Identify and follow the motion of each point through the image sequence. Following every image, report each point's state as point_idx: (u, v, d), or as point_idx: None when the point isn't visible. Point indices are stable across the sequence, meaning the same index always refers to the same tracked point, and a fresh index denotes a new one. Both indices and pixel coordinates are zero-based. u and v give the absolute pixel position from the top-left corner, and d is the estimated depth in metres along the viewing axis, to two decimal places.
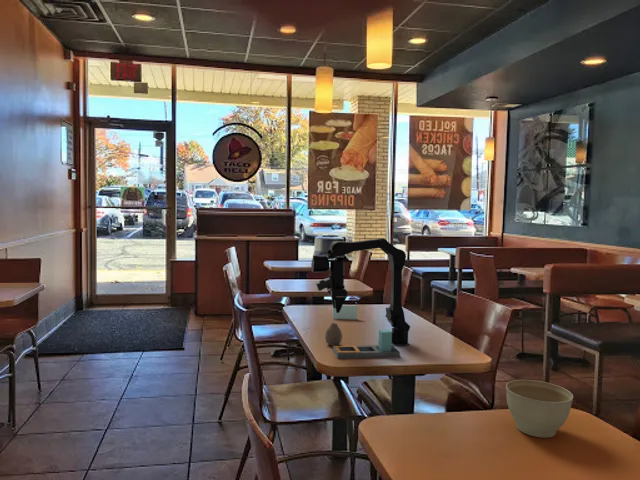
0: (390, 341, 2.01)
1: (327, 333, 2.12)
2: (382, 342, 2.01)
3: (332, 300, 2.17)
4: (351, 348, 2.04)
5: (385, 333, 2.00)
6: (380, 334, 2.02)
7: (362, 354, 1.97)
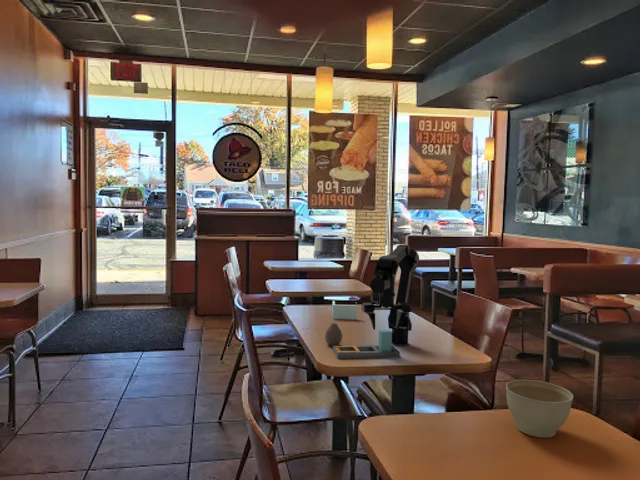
0: (390, 341, 2.01)
1: (327, 333, 2.12)
2: (382, 342, 2.01)
3: (396, 320, 2.04)
4: (351, 348, 2.04)
5: (385, 333, 2.00)
6: (380, 334, 2.02)
7: (362, 354, 1.97)
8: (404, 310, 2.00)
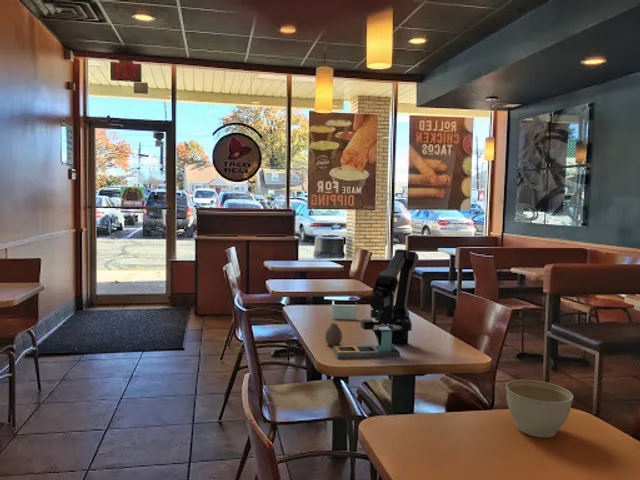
0: (390, 341, 2.01)
1: (327, 333, 2.12)
2: (382, 342, 2.01)
3: None
4: (351, 348, 2.04)
5: (385, 333, 2.00)
6: None
7: (362, 354, 1.97)
8: (403, 327, 2.00)
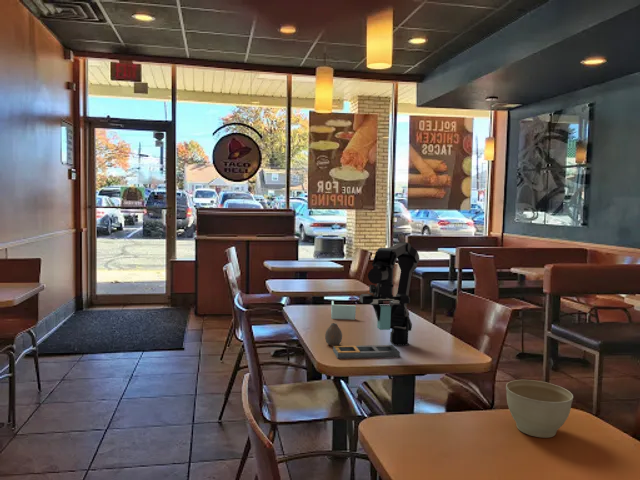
0: (389, 315, 2.00)
1: (327, 333, 2.12)
2: (381, 317, 2.00)
3: None
4: (351, 348, 2.04)
5: (384, 307, 2.00)
6: None
7: (362, 354, 1.97)
8: (402, 301, 2.00)
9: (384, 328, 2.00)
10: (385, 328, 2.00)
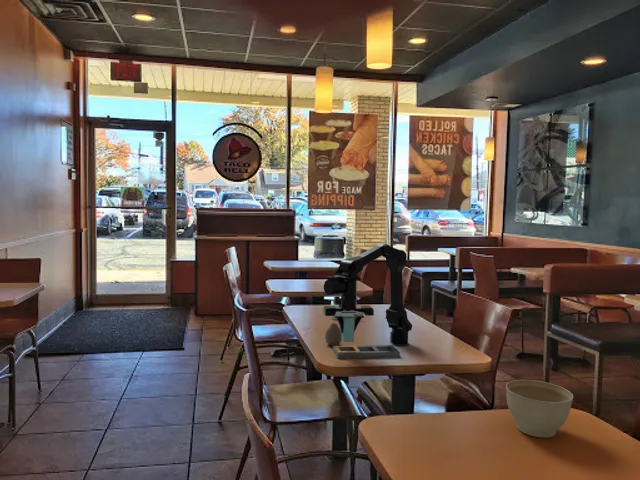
0: (353, 328, 1.98)
1: (327, 333, 2.12)
2: (344, 329, 1.98)
3: None
4: (351, 348, 2.04)
5: (347, 319, 1.98)
6: (343, 320, 1.99)
7: (362, 354, 1.97)
8: (366, 313, 1.98)
9: (348, 340, 1.98)
10: (349, 340, 1.98)
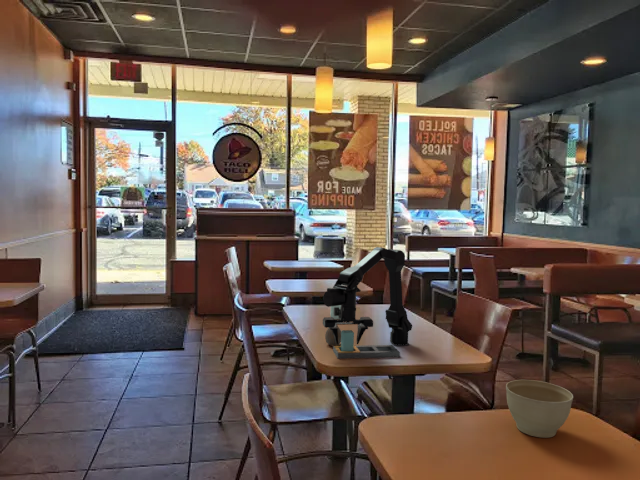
0: (352, 342, 1.99)
1: (327, 333, 2.12)
2: (344, 343, 1.98)
3: (357, 335, 2.02)
4: None
5: (347, 334, 1.98)
6: (342, 334, 2.00)
7: (362, 354, 1.97)
8: (365, 325, 1.98)
9: None
10: None
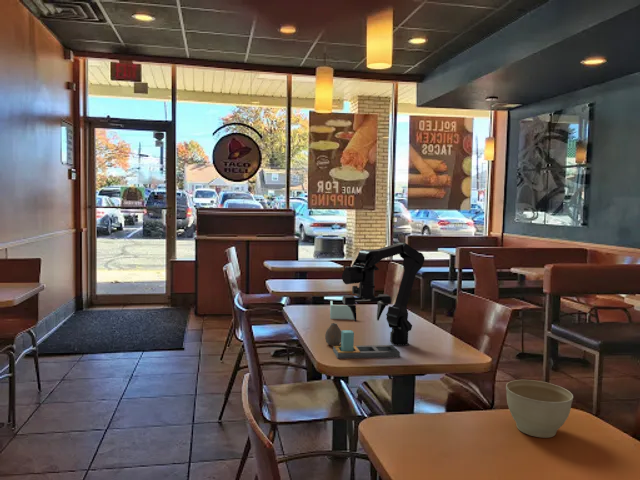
0: (352, 342, 1.99)
1: (327, 333, 2.12)
2: (344, 343, 1.98)
3: (377, 311, 2.09)
4: None
5: (347, 334, 1.98)
6: (342, 334, 2.00)
7: (362, 354, 1.97)
8: (384, 301, 2.05)
9: None
10: None
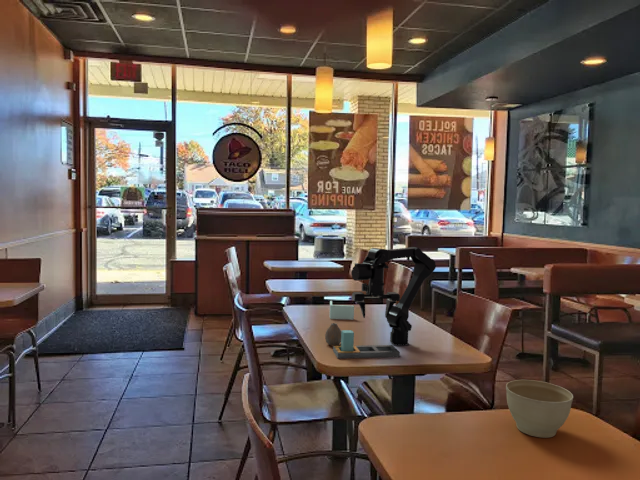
0: (352, 342, 1.99)
1: (327, 333, 2.12)
2: (344, 343, 1.98)
3: None
4: None
5: (347, 334, 1.98)
6: (342, 334, 2.00)
7: (362, 354, 1.97)
8: (393, 299, 2.09)
9: None
10: None
